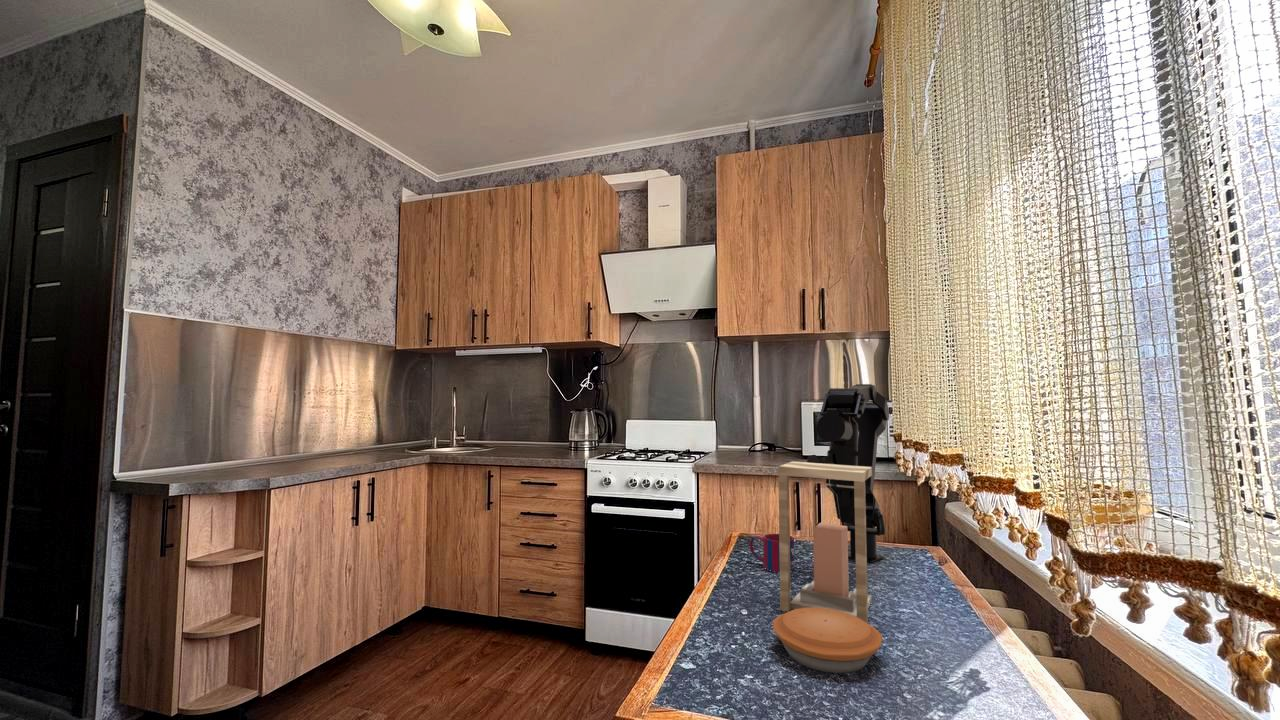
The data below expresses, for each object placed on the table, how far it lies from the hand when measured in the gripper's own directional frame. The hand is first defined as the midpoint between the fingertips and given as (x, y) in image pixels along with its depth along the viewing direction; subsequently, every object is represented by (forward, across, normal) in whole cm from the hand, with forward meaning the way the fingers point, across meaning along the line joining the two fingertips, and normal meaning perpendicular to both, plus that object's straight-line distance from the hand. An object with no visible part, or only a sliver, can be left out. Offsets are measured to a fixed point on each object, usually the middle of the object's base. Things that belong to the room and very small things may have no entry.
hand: (841, 520), depth 115 cm
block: (+13, +13, -2) cm, 19 cm away
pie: (+18, +33, -4) cm, 38 cm away
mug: (+12, -6, -14) cm, 20 cm away
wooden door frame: (+14, +13, -2) cm, 19 cm away
